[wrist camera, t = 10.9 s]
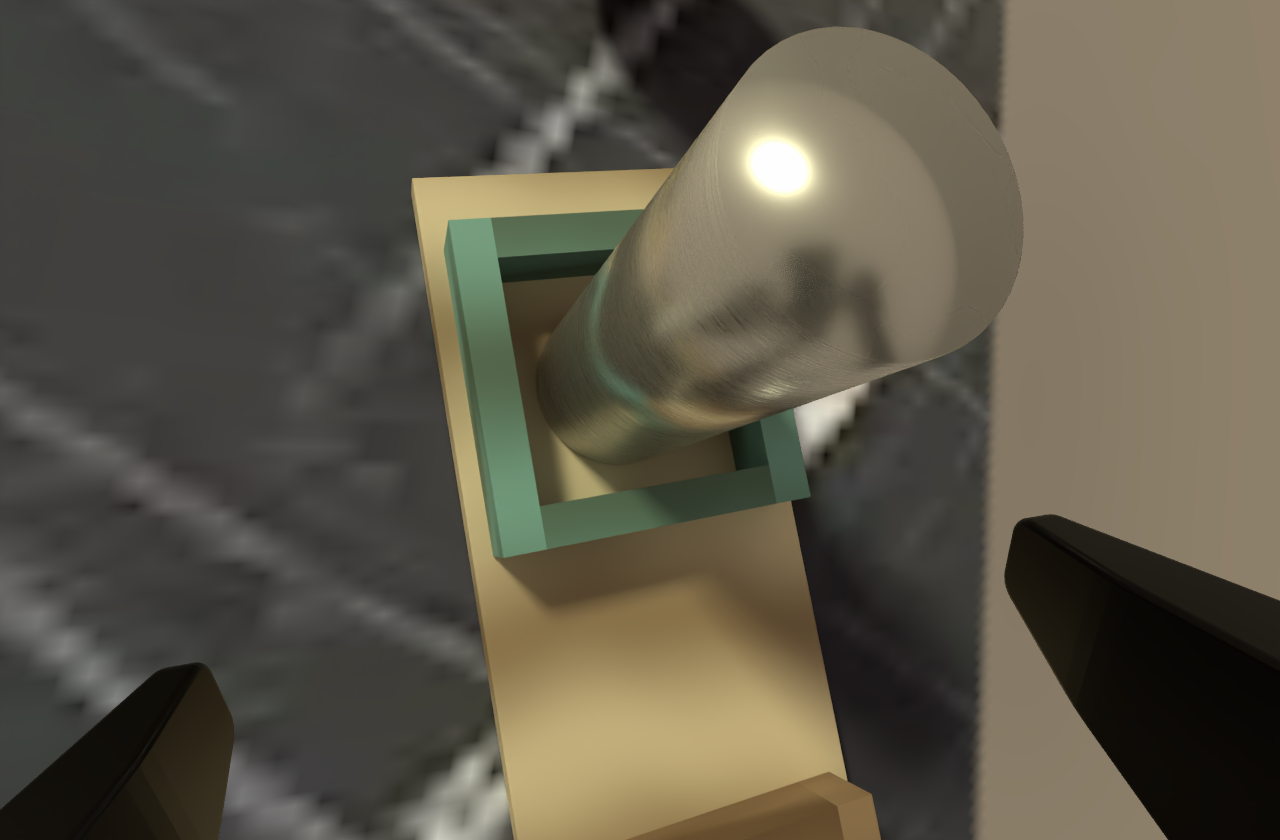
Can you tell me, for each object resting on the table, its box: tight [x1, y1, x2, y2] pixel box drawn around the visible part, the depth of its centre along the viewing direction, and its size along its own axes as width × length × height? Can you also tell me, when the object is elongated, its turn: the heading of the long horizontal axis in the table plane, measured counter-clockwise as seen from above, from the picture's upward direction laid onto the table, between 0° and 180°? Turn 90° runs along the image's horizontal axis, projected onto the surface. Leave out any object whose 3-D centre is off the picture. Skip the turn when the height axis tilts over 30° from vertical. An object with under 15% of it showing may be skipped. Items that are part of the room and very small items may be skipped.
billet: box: [536, 27, 1023, 465], centre depth 15 cm, size 4×4×12 cm
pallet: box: [411, 168, 881, 840], centre depth 20 cm, size 26×9×3 cm, turn 11°
